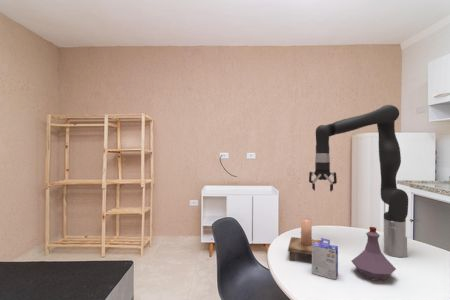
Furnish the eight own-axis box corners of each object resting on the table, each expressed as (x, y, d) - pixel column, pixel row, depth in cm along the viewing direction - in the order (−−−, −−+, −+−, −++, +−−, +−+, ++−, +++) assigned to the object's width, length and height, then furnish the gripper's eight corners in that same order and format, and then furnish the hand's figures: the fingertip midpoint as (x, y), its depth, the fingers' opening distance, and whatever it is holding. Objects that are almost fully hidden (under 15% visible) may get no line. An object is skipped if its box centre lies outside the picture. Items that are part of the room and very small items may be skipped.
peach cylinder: (311, 242, 126) (311, 218, 126) (311, 246, 121) (311, 221, 121) (301, 241, 127) (301, 218, 128) (300, 245, 123) (300, 220, 123)
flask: (371, 263, 116) (371, 220, 116) (406, 281, 100) (406, 231, 100) (342, 269, 111) (342, 224, 111) (375, 288, 95) (375, 236, 95)
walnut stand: (323, 252, 129) (323, 240, 129) (324, 265, 114) (324, 252, 114) (291, 248, 134) (291, 236, 134) (288, 260, 119) (288, 248, 119)
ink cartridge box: (338, 274, 106) (338, 240, 106) (336, 280, 101) (336, 244, 101) (314, 268, 111) (314, 236, 111) (311, 273, 107) (311, 240, 107)
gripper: (308, 161, 137) (308, 191, 137) (337, 162, 132) (337, 192, 132) (309, 161, 144) (309, 189, 144) (336, 161, 139) (336, 190, 139)
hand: (322, 190), depth 138 cm, fingers open, 8 cm apart
